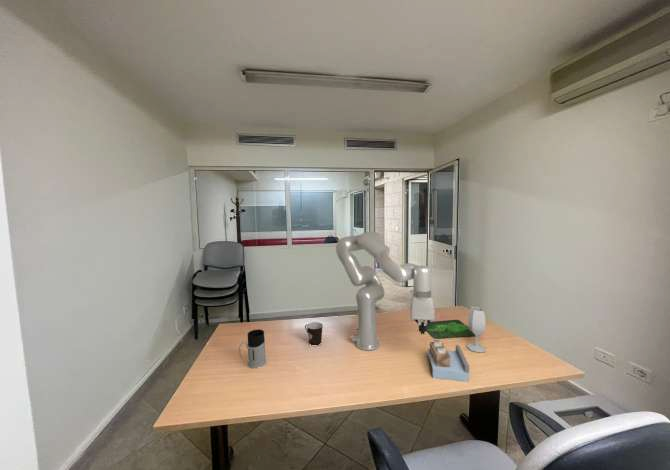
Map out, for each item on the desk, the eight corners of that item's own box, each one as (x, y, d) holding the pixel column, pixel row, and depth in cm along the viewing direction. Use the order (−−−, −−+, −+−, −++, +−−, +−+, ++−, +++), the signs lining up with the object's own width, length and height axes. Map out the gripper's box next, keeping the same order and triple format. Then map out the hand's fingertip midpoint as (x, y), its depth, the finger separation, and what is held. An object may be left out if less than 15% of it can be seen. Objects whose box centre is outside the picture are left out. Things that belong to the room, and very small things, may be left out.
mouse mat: (433, 340, 145) (433, 338, 145) (417, 323, 167) (417, 321, 167) (480, 336, 148) (480, 335, 148) (458, 320, 169) (458, 319, 169)
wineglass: (488, 353, 130) (490, 312, 128) (469, 352, 131) (470, 311, 129) (482, 345, 138) (483, 306, 136) (464, 343, 140) (465, 305, 138)
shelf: (433, 378, 112) (433, 362, 111) (427, 356, 128) (428, 342, 128) (468, 382, 109) (469, 366, 108) (458, 359, 125) (459, 345, 125)
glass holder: (270, 360, 127) (269, 331, 126) (247, 377, 115) (245, 344, 114) (257, 356, 132) (256, 327, 130) (234, 371, 120) (232, 339, 118)
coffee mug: (325, 345, 141) (324, 327, 140) (309, 348, 138) (309, 330, 137) (318, 335, 152) (318, 319, 151) (304, 338, 149) (303, 321, 148)
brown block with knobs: (436, 366, 113) (437, 352, 113) (429, 351, 125) (429, 338, 125) (450, 367, 113) (450, 352, 112) (441, 352, 125) (441, 339, 124)
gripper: (405, 295, 116) (405, 335, 117) (441, 296, 113) (441, 338, 114) (404, 290, 123) (404, 328, 125) (438, 291, 120) (438, 330, 121)
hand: (422, 332), depth 119 cm, fingers closed
